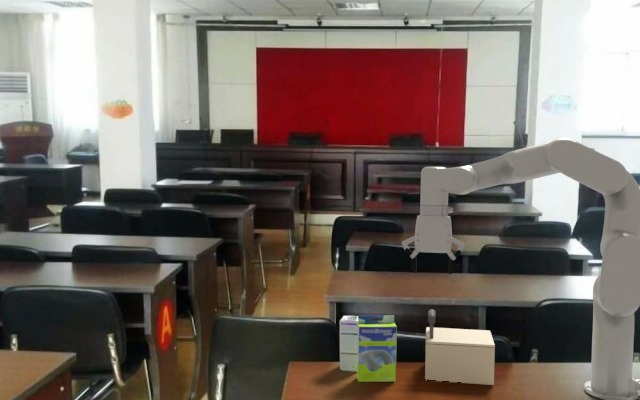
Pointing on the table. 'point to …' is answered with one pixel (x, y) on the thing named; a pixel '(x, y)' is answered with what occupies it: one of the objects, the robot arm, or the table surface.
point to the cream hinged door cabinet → (460, 363)
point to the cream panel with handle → (456, 335)
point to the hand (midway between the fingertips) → (432, 272)
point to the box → (376, 349)
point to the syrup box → (348, 343)
